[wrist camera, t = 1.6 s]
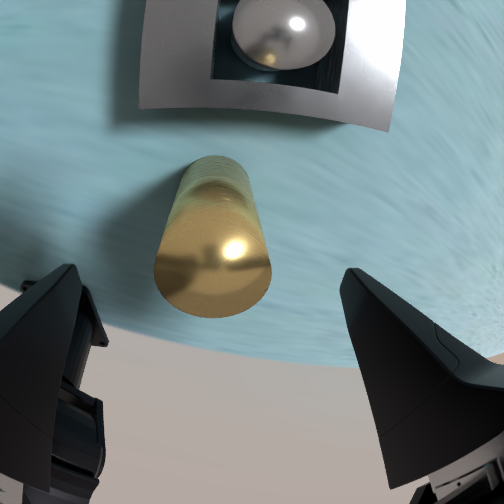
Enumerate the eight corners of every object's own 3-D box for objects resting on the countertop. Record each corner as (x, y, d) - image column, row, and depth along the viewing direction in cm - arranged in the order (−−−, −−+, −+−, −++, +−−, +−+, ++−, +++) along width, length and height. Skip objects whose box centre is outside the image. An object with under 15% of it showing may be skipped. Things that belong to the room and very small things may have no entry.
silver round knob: (303, 76, 11) (329, 77, 8) (226, 68, 11) (228, 63, 8) (311, 11, 9) (338, -6, 6) (233, 1, 9) (238, -23, 6)
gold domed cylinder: (247, 220, 15) (264, 317, 10) (181, 219, 15) (161, 316, 9) (253, 157, 13) (279, 228, 8) (180, 155, 13) (147, 225, 7)
